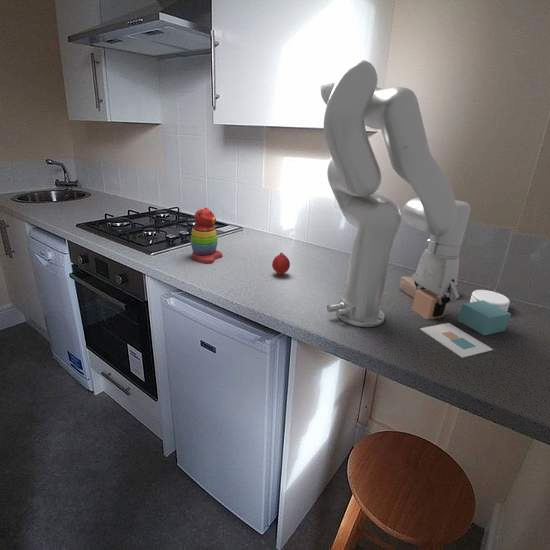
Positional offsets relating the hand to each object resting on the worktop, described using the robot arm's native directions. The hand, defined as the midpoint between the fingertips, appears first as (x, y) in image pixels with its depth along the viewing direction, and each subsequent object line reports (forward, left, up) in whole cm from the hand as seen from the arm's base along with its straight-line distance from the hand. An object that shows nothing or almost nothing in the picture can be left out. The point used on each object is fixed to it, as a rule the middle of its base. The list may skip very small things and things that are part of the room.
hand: (428, 309), depth 100 cm
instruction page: (-4, -13, -1) cm, 14 cm away
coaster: (+22, -2, -1) cm, 22 cm away
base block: (+9, -10, -1) cm, 13 cm away
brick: (+11, +11, -1) cm, 16 cm away
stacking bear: (-49, +58, -1) cm, 76 cm away
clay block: (0, 0, -1) cm, 1 cm away
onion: (-29, +36, -1) cm, 46 cm away
